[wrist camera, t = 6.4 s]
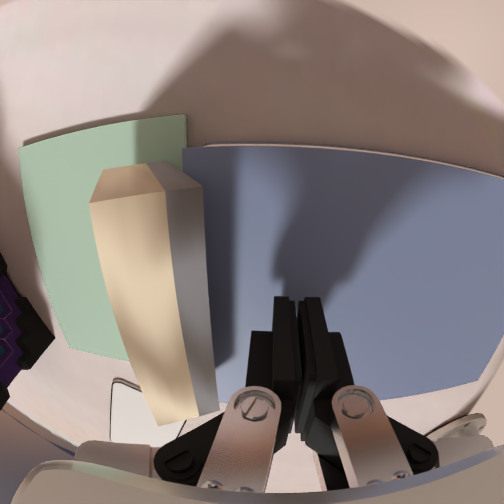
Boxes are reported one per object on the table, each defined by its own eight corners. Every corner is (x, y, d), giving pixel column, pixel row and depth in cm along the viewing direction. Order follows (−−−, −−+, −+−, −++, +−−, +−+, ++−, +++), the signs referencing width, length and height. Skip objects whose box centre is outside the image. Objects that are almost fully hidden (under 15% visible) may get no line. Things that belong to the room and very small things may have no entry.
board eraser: (219, 410, 12) (158, 426, 10) (184, 332, 16) (137, 342, 15) (203, 186, 7) (88, 203, 6) (167, 160, 12) (102, 169, 11)
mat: (207, 368, 19) (206, 372, 18) (71, 344, 19) (69, 347, 19) (186, 114, 12) (184, 114, 12) (22, 147, 13) (18, 148, 13)
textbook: (456, 345, 17) (477, 380, 13) (219, 354, 18) (209, 401, 14) (506, 177, 12) (548, 194, 8) (207, 143, 13) (181, 148, 9)
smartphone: (192, 410, 21) (164, 464, 26) (194, 401, 22) (166, 457, 27) (111, 377, 20) (109, 442, 26) (116, 369, 21) (112, 435, 27)
